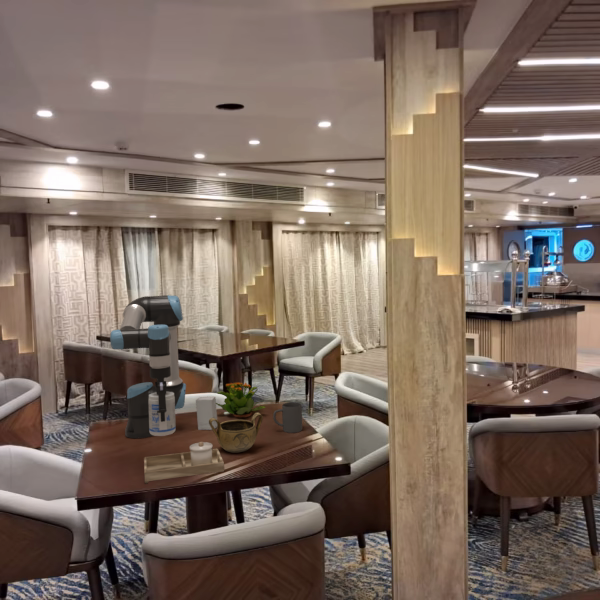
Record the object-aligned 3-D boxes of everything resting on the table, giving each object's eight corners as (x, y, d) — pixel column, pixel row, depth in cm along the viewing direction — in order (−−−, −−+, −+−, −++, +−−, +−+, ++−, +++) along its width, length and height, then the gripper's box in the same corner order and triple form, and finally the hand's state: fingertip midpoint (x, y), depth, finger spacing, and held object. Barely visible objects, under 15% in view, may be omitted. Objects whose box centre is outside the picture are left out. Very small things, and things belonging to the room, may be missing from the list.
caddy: (144, 467, 213) (144, 457, 213) (218, 458, 221) (217, 448, 221) (144, 483, 197) (144, 472, 197) (224, 473, 205) (223, 462, 204)
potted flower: (275, 411, 289) (273, 378, 288) (253, 424, 268) (251, 388, 267) (233, 408, 300) (232, 376, 299) (209, 419, 278) (208, 385, 277)
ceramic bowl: (215, 461, 218) (213, 424, 217) (206, 448, 233) (204, 413, 233) (269, 452, 226) (267, 416, 225) (256, 440, 242) (255, 407, 241)
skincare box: (217, 426, 265) (216, 396, 264) (213, 430, 259) (212, 399, 258) (201, 426, 267) (200, 396, 266) (196, 430, 261) (195, 399, 260)
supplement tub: (151, 438, 200) (149, 398, 199) (147, 431, 208) (145, 393, 208) (178, 434, 204) (176, 394, 203) (173, 427, 212) (171, 390, 211)
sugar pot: (189, 463, 214) (188, 439, 213) (211, 460, 216) (210, 437, 216) (191, 471, 206) (190, 446, 205) (214, 468, 208) (213, 443, 207)
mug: (299, 426, 262) (298, 401, 261) (305, 431, 253) (304, 405, 252) (271, 429, 258) (270, 404, 257) (276, 435, 249) (275, 409, 248)
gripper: (149, 362, 214) (151, 419, 215) (150, 372, 193) (153, 435, 194) (168, 361, 216) (171, 417, 218) (172, 370, 195) (174, 433, 196)
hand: (162, 425), depth 206 cm, fingers closed on supplement tub, 9 cm apart
